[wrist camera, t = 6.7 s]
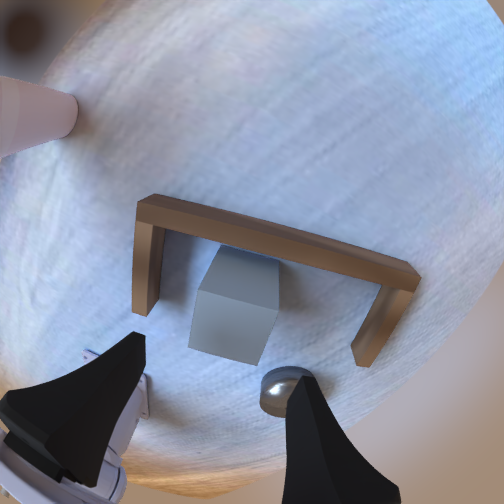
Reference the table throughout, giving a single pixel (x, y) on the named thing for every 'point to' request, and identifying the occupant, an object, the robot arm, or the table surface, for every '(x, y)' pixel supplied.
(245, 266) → the grey block
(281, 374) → the grey puck
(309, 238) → the walnut bay
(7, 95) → the smoothie
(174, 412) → the table surface
